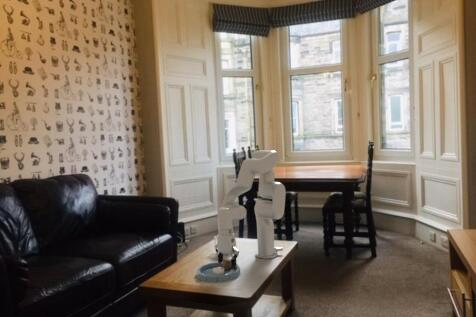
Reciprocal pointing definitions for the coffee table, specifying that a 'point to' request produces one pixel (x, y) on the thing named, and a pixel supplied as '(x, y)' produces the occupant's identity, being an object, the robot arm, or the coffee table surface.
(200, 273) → the ring tray
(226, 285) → the coffee table surface
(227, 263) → the walnut bead
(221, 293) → the coffee table surface
